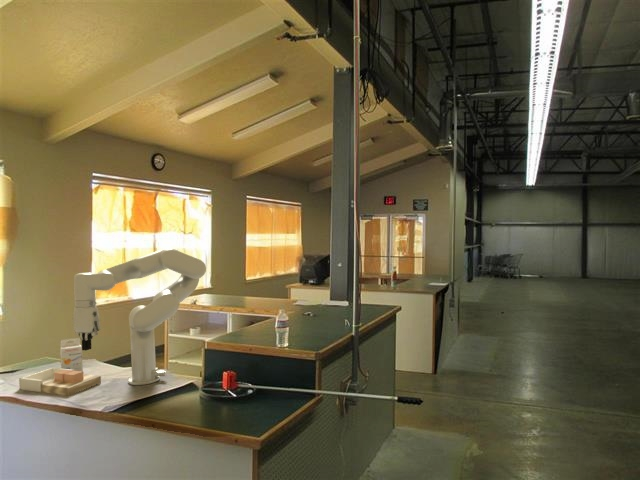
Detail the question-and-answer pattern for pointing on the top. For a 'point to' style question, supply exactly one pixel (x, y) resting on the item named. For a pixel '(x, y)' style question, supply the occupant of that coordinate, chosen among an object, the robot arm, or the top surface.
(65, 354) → the ink box
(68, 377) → the tile
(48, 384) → the board
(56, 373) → the tile
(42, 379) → the tray
